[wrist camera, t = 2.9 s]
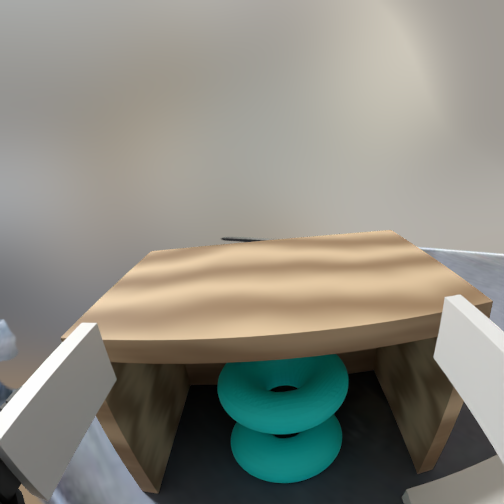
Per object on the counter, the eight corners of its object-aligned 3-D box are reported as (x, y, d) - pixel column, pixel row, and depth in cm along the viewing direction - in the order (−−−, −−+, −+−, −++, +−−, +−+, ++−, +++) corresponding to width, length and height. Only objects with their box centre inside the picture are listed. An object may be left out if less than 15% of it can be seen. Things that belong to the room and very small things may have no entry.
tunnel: (432, 469, 19) (492, 301, 14) (142, 491, 20) (60, 337, 16) (381, 360, 35) (390, 229, 31) (181, 377, 37) (151, 251, 32)
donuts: (328, 324, 27) (369, 396, 18) (326, 403, 30) (353, 475, 21) (216, 339, 27) (212, 422, 17) (231, 417, 30) (235, 495, 20)
